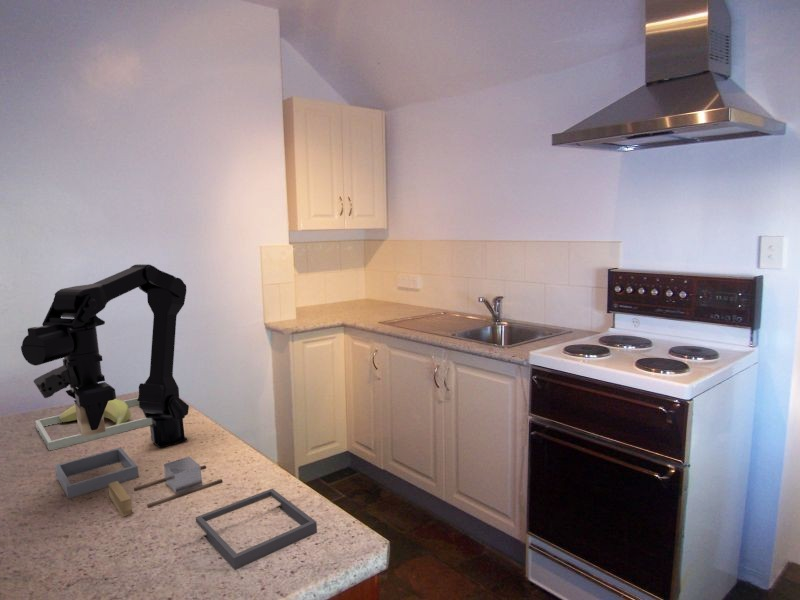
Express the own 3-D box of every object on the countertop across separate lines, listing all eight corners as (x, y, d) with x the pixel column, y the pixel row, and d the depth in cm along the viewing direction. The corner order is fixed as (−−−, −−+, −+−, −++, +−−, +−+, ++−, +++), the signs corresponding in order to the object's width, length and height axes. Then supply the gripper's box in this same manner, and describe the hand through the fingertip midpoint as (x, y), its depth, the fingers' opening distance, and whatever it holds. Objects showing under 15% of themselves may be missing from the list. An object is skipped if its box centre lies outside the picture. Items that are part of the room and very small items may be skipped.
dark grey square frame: (273, 498, 106) (272, 488, 105) (317, 532, 94) (316, 521, 94) (196, 527, 96) (195, 517, 96) (234, 570, 85) (233, 558, 84)
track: (205, 472, 117) (203, 454, 117) (223, 487, 110) (221, 468, 110) (94, 508, 104) (92, 488, 103) (106, 528, 97) (104, 507, 96)
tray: (122, 462, 123) (120, 447, 123) (139, 482, 114) (137, 466, 113) (56, 481, 115) (54, 465, 115) (69, 504, 106) (66, 487, 105)
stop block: (100, 426, 115) (97, 398, 114) (105, 431, 112) (102, 403, 111) (78, 431, 113) (75, 403, 112) (83, 437, 110) (79, 408, 109)
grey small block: (191, 474, 114) (189, 456, 113) (202, 485, 109) (200, 466, 108) (165, 483, 110) (163, 464, 110) (176, 494, 106) (174, 474, 105)
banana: (105, 384, 155) (136, 408, 142) (112, 401, 157) (143, 425, 144) (53, 409, 146) (81, 437, 133) (61, 426, 149) (89, 455, 136)
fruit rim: (140, 403, 161) (139, 397, 161) (162, 421, 147) (161, 414, 146) (36, 427, 145) (35, 420, 145) (49, 450, 130) (48, 442, 130)
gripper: (26, 351, 112) (37, 425, 114) (42, 369, 98) (54, 453, 100) (88, 341, 119) (97, 411, 121) (112, 357, 105) (121, 435, 107)
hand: (91, 426), depth 112 cm, fingers closed on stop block, 4 cm apart
